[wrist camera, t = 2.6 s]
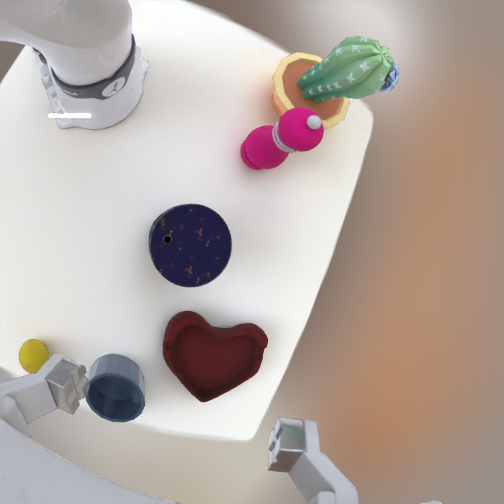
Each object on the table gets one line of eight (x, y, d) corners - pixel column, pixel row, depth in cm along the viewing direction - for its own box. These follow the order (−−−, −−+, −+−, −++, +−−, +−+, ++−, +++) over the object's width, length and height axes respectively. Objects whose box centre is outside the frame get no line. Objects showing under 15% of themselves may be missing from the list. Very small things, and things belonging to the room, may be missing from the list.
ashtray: (152, 382, 48) (153, 397, 43) (169, 301, 47) (172, 310, 43) (240, 394, 54) (248, 407, 49) (263, 321, 54) (274, 330, 49)
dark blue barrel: (215, 217, 49) (242, 216, 35) (199, 274, 49) (220, 296, 35) (158, 200, 45) (161, 192, 31) (142, 259, 45) (139, 277, 31)
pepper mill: (283, 153, 52) (351, 126, 33) (258, 180, 51) (321, 161, 32) (255, 126, 49) (313, 83, 31) (229, 152, 48) (278, 115, 30)
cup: (80, 375, 43) (73, 395, 36) (114, 343, 45) (110, 361, 38) (120, 408, 46) (119, 430, 39) (154, 380, 48) (157, 400, 41)
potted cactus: (300, 155, 53) (398, 122, 29) (240, 99, 48) (310, 26, 24) (337, 107, 55) (427, 68, 31) (286, 57, 50) (360, -8, 26)
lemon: (52, 364, 41) (40, 386, 33) (27, 354, 39) (12, 373, 31) (55, 339, 41) (42, 358, 33) (29, 328, 39) (13, 345, 31)
